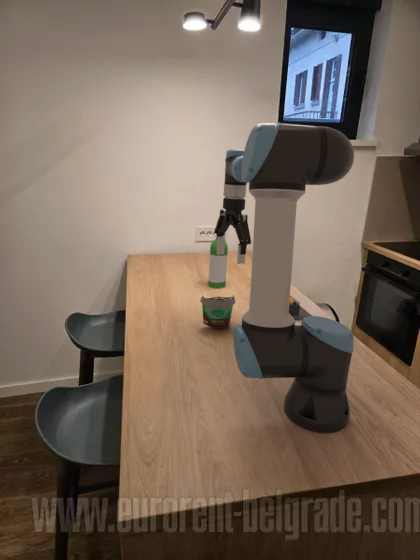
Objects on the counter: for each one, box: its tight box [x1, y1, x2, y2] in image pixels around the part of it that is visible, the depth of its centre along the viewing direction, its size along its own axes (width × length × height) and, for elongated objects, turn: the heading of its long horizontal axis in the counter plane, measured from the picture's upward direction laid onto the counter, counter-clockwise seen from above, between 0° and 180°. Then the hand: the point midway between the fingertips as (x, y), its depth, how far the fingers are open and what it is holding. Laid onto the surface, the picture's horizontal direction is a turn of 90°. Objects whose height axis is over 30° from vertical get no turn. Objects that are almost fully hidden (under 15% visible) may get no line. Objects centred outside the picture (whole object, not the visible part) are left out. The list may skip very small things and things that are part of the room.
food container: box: [199, 294, 236, 329], centre depth 129 cm, size 12×6×10 cm, turn 105°
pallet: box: [289, 294, 313, 321], centre depth 148 cm, size 21×17×6 cm
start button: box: [289, 296, 295, 305], centre depth 140 cm, size 4×4×3 cm
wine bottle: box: [208, 220, 229, 289], centre depth 168 cm, size 8×8×30 cm
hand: (230, 258), depth 135 cm, fingers open, 13 cm apart
